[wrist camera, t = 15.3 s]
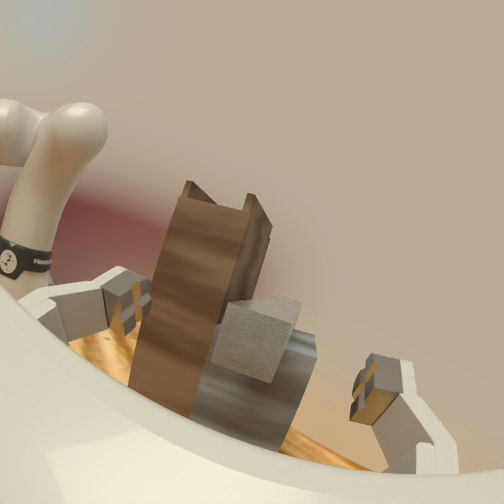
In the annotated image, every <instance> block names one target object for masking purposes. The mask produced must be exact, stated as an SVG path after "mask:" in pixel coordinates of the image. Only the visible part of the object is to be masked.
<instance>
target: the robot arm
mask: <svg viewBox="0 0 504 504" xmlns="http://www.w3.org/2000/svg"><path fill="white" fill-rule="evenodd" d="M107 135H108V124H107V120H106V117H105V115H104V113H103V112H102V111H101V110H100V109H99V108H98V107H97V106H95V105H93V104H91V103H84V102H81V103H71V104H67V105H64V106H62V107H60V108H59V109H57V110H56V111H55V112H53V113H45V112H41V111H37V110H35V109H32V108H29V107H27V106H24V105H22V104H20V103H19V102H18V101H16V100H10V99H3V98H0V165H4V166H15V167H23V170H22V172H21V174H20V176H19V178H18V180H17V182H16V184H15V186H14V188H13V190H12V193H11V196H10V199H9V203H8V206H7V209H6V213H5V216H4V220H3V224H2V228H1V232H0V504H504V468H499V469H493V470H486V471H478V472H469V473H459V469H458V456H457V447H456V442H455V441H454V440H453V438H452V437H451V436H450V434H449V433H448V432H447V430H446V429H445V428H444V426H443V425H442V424H441V423H440V421H439V420H438V419H437V417H436V416H435V415H434V413H433V412H432V411H431V409H430V408H429V407H428V406H427V404H426V403H425V402H424V400H423V399H422V398H421V397H417V389H416V382H415V376H414V370H413V364H412V362H411V361H406V360H401V359H395V358H390V357H386V356H382V355H378V354H373V353H371V354H370V355H369V357H368V358H367V360H366V368H364V369H362V370H361V371H360V372H359V374H358V376H357V378H356V380H355V383H354V386H353V391H352V396H353V398H354V400H355V401H354V402H353V403H352V405H351V410H350V420H349V421H352V422H357V423H361V424H366V425H370V426H372V429H373V431H374V434H375V436H376V438H377V440H378V442H379V445H380V447H381V449H382V451H383V454H384V456H385V458H386V460H387V463H388V465H389V468H387V469H386V470H385V471H383V472H372V471H364V470H356V469H350V468H343V467H338V466H332V465H327V464H322V463H317V462H313V461H308V460H304V459H300V458H296V457H292V456H288V455H285V454H281V453H278V452H274V451H271V450H268V449H264V448H261V447H258V446H255V445H252V444H249V443H246V442H243V441H241V440H238V439H235V438H232V437H230V436H227V435H225V434H222V433H220V432H217V431H215V430H212V429H210V428H207V427H205V426H203V425H201V424H198V423H196V422H194V421H192V420H189V419H187V418H185V417H183V416H181V415H179V414H177V413H175V412H173V411H171V410H169V409H167V408H165V407H163V406H161V405H159V404H157V403H155V402H154V401H152V400H150V399H148V398H146V397H144V396H143V395H141V394H139V393H137V392H136V391H134V390H132V389H131V388H129V387H127V386H126V385H124V384H122V383H121V382H119V381H118V380H116V379H115V378H113V377H111V376H110V375H108V374H107V373H105V372H104V371H102V370H101V369H99V368H98V367H96V366H95V365H94V364H92V363H91V362H89V361H88V360H86V359H85V358H84V357H82V356H81V355H80V354H78V353H77V352H76V351H74V350H73V349H72V348H70V346H69V343H68V342H70V341H73V340H76V339H79V338H82V337H85V336H88V335H91V334H94V333H97V332H100V331H103V330H106V329H108V328H110V329H112V330H114V331H116V332H118V333H120V334H121V335H123V336H126V335H127V334H128V333H129V332H131V331H132V330H133V329H134V328H135V327H136V322H139V321H143V320H144V319H145V318H146V317H147V316H148V314H149V312H150V310H151V306H152V299H151V297H150V295H149V293H148V292H149V291H150V290H151V281H150V280H149V279H147V278H145V277H143V276H141V275H138V274H137V273H134V272H132V271H130V270H127V269H125V268H123V267H121V266H116V267H115V268H113V269H111V270H109V271H108V272H106V273H104V274H103V275H101V276H99V277H98V278H96V279H95V280H93V281H91V282H89V281H83V282H76V283H70V284H63V285H57V286H54V284H53V281H52V279H51V276H50V273H49V270H50V268H51V262H52V260H53V258H54V255H55V251H53V250H51V247H52V244H53V240H54V237H55V233H56V230H57V226H58V223H59V220H60V217H61V214H62V211H63V209H64V206H65V204H66V202H67V200H68V198H69V196H70V194H71V193H72V191H73V189H74V187H75V186H76V184H77V182H78V181H79V179H80V177H81V175H82V174H83V172H84V170H85V169H86V167H87V165H88V164H89V163H90V162H91V160H92V159H93V158H94V157H95V156H96V155H97V154H98V153H99V152H100V151H101V150H102V148H103V146H104V145H105V142H106V139H107Z"/></svg>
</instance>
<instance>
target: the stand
mask: <svg viewBox="0 0 504 504" xmlns="http://www.w3.org/2000/svg"><path fill="white" fill-rule="evenodd" d="M272 227H273V226H272V224H271V222H270V221H269V219H268V217H267V215H266V214H265V212H264V210H263V208H262V207H261V205H260V203H259V201H258V200H257V198H256V196H255V195H254V194H250V193H247V196H246V199H245V203H244V206H243V209H242V211H241V210H237V209H233V208H229V207H225V206H221V205H217V204H216V203H215V202H214V201H213V200H212V199H211V198H210V197H209V196H208V195H207V194H206V193H205V192H204V191H202V190H201V189H200V188H199V187H198V186H197V185H196V184H195V183H194V182H193V181H188V180H187V181H186V184H185V186H184V189H183V192H182V195H181V196H179V198H178V201H177V204H176V207H175V210H174V213H173V216H172V218H171V221H170V225H169V228H168V231H167V234H166V237H165V240H164V243H163V246H162V249H161V252H160V256H159V259H158V263H157V266H156V270H155V273H154V276H153V280H152V283H151V290H150V291H149V295H150V297H151V299H152V306H151V310H150V312H149V314H148V316H147V317H146V318H145V319H144V320H143V321H141V326H140V330H139V334H138V338H137V343H136V347H135V352H134V357H133V362H132V366H131V372H130V377H129V382H128V387H129V388H131V389H132V390H134V391H136V392H137V393H139V394H141V395H143V396H144V397H146V398H148V399H150V400H152V401H154V402H155V403H157V404H159V405H161V406H163V407H165V408H167V409H169V410H171V411H173V412H175V413H177V414H179V415H181V416H183V417H185V418H187V419H189V420H192V421H194V422H196V423H198V424H201V425H203V426H205V427H207V428H210V429H212V430H215V431H217V432H220V433H222V434H225V435H227V436H230V437H232V438H235V439H238V440H241V441H243V442H246V443H249V444H252V445H255V446H258V447H261V448H264V449H268V450H271V451H274V452H278V451H279V449H280V447H281V445H282V443H283V441H284V438H285V436H286V434H287V432H288V430H289V427H290V425H291V423H292V420H293V418H294V416H295V414H296V411H297V409H298V407H299V404H300V402H301V399H302V397H303V394H304V392H305V389H306V387H307V384H308V382H309V379H310V377H311V374H312V371H313V369H314V366H315V363H316V361H317V352H316V344H315V336H314V335H312V334H308V333H305V332H302V331H299V330H295V329H293V332H292V334H291V337H290V339H289V342H288V344H287V346H286V349H285V351H284V354H283V356H282V358H281V361H280V363H279V366H278V368H277V370H276V373H275V375H274V377H273V379H272V382H271V384H270V383H267V382H264V381H261V380H258V379H255V378H253V377H250V376H247V375H244V374H241V373H238V372H236V371H233V370H230V369H228V368H225V367H223V366H220V365H217V364H215V363H212V362H210V361H211V357H212V354H213V351H214V347H215V344H216V341H217V337H218V334H219V331H220V327H221V324H222V321H223V318H224V314H225V311H226V308H227V304H228V302H236V301H243V300H250V299H252V297H253V293H254V290H255V287H256V284H257V281H258V277H259V274H260V271H261V268H262V264H263V261H264V258H265V254H266V251H267V248H268V244H269V241H270V238H269V236H270V233H271V230H272Z"/></svg>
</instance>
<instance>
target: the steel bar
mask: <svg viewBox="0 0 504 504" xmlns="http://www.w3.org/2000/svg"><path fill="white" fill-rule="evenodd" d="M301 305H302V302H299V301H296V300H292V299H289V298H286V297H282V296H279V295H278V296H272V297H265V298H258V299H250V300H243V301H236V302H228V304H227V308H226V311H225V314H224V318H223V321H222V324H221V327H220V331H219V334H218V337H217V341H216V344H215V347H214V351H213V354H212V357H211V361H210V362H212V363H215V364H217V365H220V366H223V367H225V368H228V369H230V370H233V371H236V372H238V373H241V374H244V375H247V376H250V377H253V378H255V379H258V380H261V381H264V382H267V383H270V384H271V382H272V379H273V377H274V375H275V373H276V370H277V368H278V366H279V363H280V361H281V358H282V356H283V354H284V351H285V349H286V346H287V344H288V342H289V339H290V337H291V334H292V332H293V329H294V327H295V324H296V321H297V318H298V314H299V311H300V308H301Z"/></svg>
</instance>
